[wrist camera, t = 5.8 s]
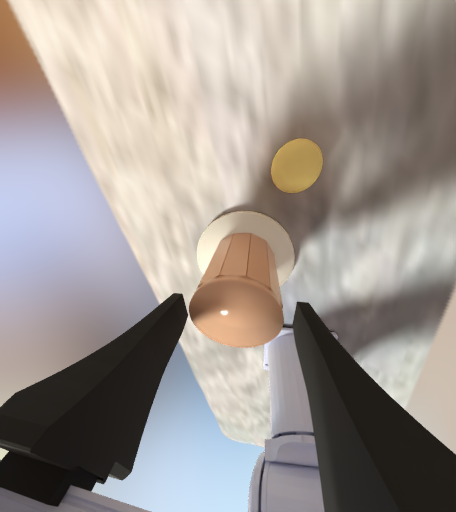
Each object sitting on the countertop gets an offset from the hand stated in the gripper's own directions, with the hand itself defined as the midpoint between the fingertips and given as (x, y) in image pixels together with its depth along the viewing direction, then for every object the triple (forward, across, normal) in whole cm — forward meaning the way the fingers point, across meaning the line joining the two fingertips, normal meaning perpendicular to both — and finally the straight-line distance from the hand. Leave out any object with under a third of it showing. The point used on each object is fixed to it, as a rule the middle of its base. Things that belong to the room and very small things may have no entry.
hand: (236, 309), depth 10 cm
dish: (+6, 0, 0) cm, 7 cm away
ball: (+6, -3, -8) cm, 11 cm away
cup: (+6, 0, 0) cm, 6 cm away
